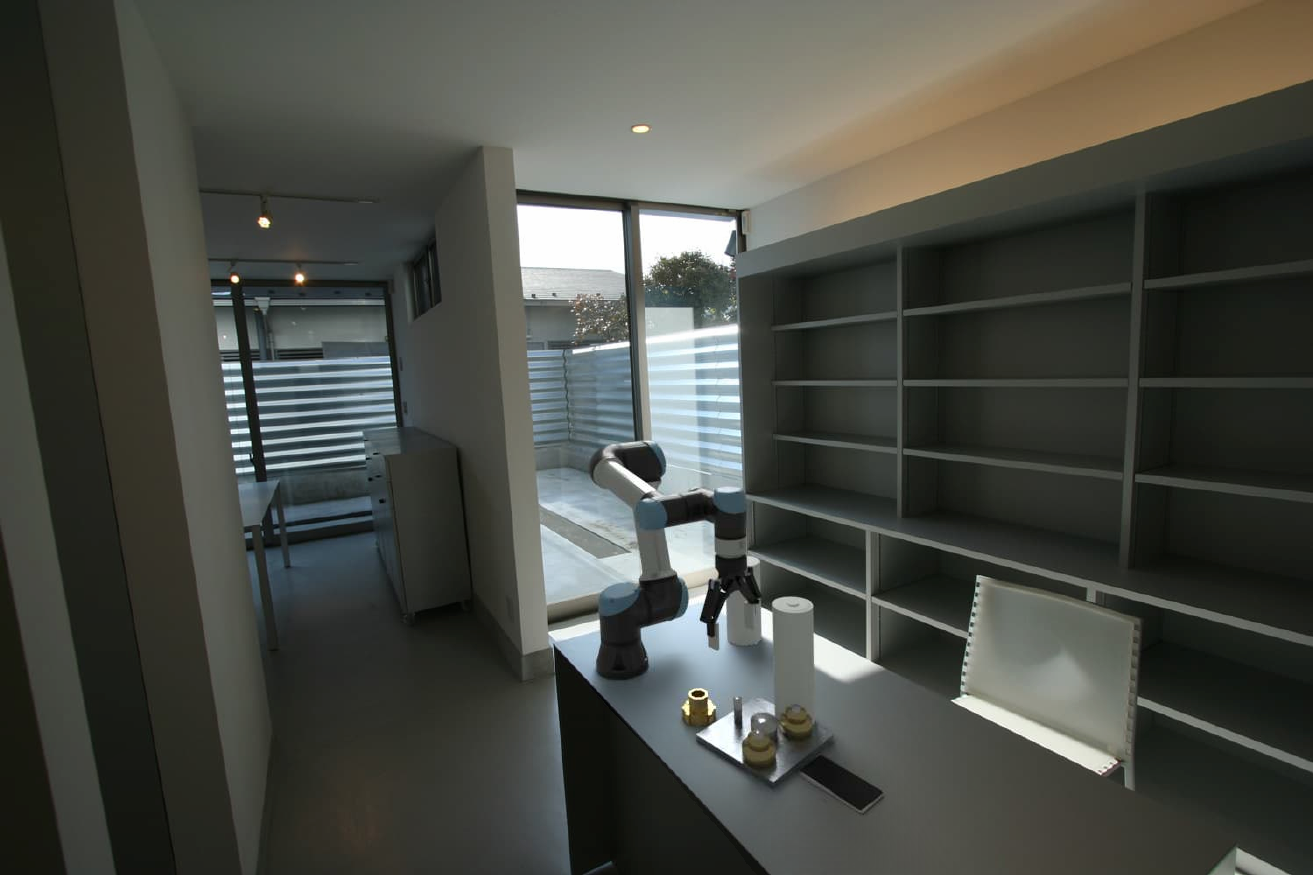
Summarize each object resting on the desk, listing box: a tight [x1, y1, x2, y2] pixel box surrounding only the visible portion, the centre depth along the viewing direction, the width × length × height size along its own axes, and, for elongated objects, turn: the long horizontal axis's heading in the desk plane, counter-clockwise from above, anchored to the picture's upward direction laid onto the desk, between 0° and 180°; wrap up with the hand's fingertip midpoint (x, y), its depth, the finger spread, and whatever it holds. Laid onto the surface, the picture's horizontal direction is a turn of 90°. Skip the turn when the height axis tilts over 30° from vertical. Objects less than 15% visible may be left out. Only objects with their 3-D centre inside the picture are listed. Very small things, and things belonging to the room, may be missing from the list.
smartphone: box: [799, 754, 884, 814], centre depth 121 cm, size 8×1×15 cm
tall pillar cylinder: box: [725, 555, 762, 647], centre depth 184 cm, size 11×11×25 cm
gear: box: [681, 688, 717, 728], centre depth 145 cm, size 8×8×6 cm
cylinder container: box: [771, 596, 816, 725], centre depth 141 cm, size 9×9×30 cm
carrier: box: [695, 695, 835, 790], centre depth 135 cm, size 22×22×7 cm
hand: (732, 638), depth 143 cm, fingers open, 13 cm apart
